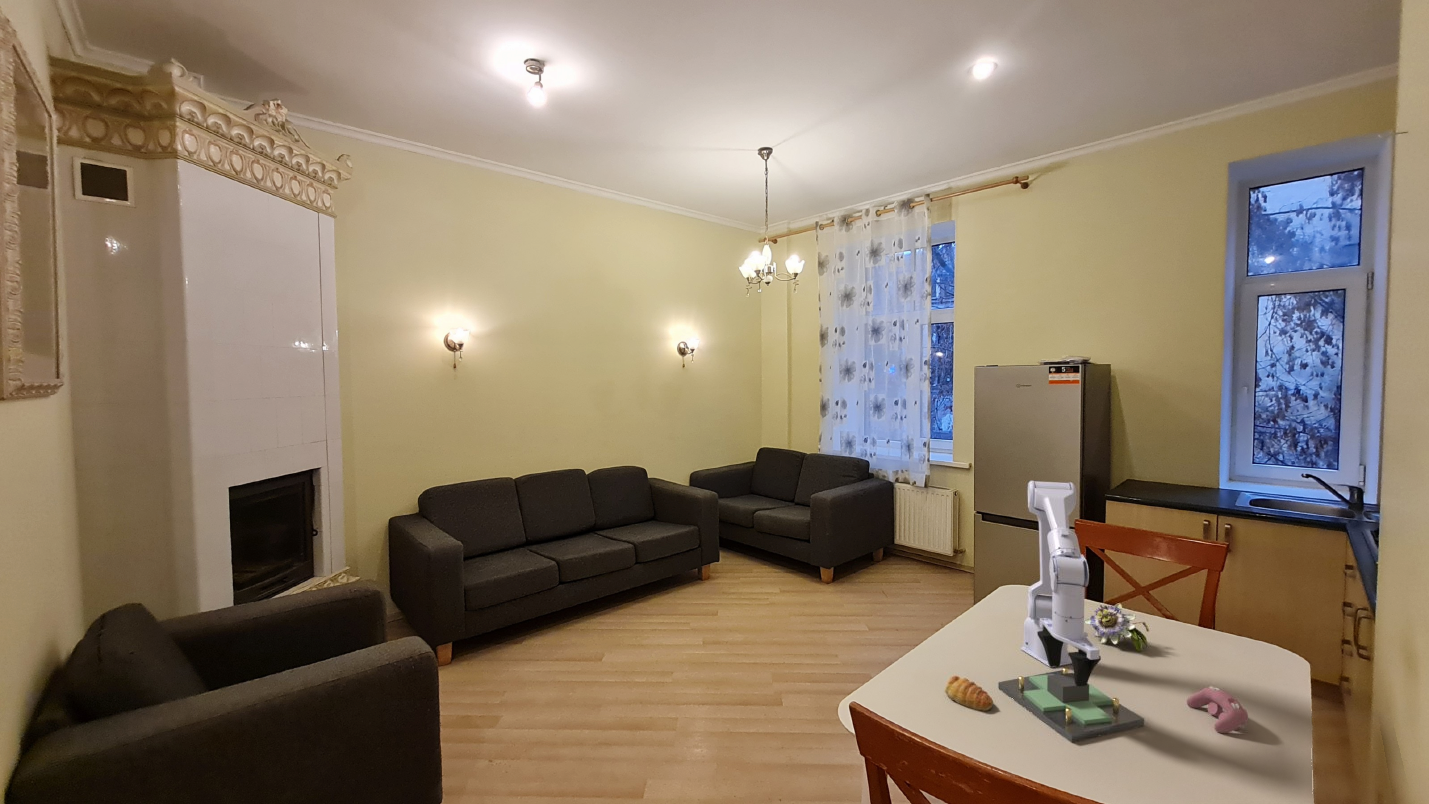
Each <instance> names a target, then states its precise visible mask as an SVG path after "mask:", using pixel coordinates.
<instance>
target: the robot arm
mask: <svg viewBox="0 0 1429 804" xmlns="http://www.w3.org/2000/svg"><path fill="white" fill-rule="evenodd" d="M1076 488H1077V487H1076V484H1074V483H1073V482H1071V481H1070V482H1057V481H1055V482H1054V481H1036V480H1035V481H1034V480H1030V481H1029V482H1028V483H1027V508H1028V512H1029V513H1031V514H1033V515H1036V518H1037V521H1038V533H1039V535H1038V538H1039V539H1038V540H1039V575H1040V576H1039V581H1037V582H1035V583H1033V584H1031V585H1030V586H1029V588H1028V589H1027V600H1026V601H1027V602H1026V603H1027V606H1026V607H1027V608H1026V609H1027V615H1028V616H1027V617H1026V618H1025V620H1024V623H1023V646H1021V647H1020V650H1021V651H1022V652H1025V653H1026V654H1027V655H1030V656H1031V657H1033V658H1034V659H1036V660H1038V661H1039V662H1041V663H1043V664H1044V665H1046V666H1047V667H1049V668H1054V667H1060V666H1066V665H1071V664H1072V667H1073V668H1072V669H1073V673H1074V681H1075V685H1077V686H1087V683H1088V684H1089V679H1090V677H1091V674H1092V672H1093V670H1094V669H1095V667H1096V666H1097V664H1098V663H1099V662H1101V659H1102V658H1101V657H1102V656H1101V655H1100V649H1099V648H1098V647H1096V646H1095V645H1094V644H1093V643H1092V642H1091V641H1090V640H1089V639H1088V637H1089V636H1088V634H1089V633H1087V632H1086V631H1085V623H1084V621H1085V588H1086V587H1088V585H1089V580H1090V573H1089V571H1090V570H1089V565H1088V561H1087V559H1086V558H1085V556H1084V554H1082V553H1081V549H1080V548H1081V547H1080V545H1079V538H1078V536H1077V534H1076V532H1074V531H1073V530H1071V529H1070V520H1069V515H1070V516H1071V514H1072V512H1073V511H1074V509H1075V507H1076V506H1077V499H1078V498H1077V495H1078V494H1077V489H1076ZM1068 645H1070V646H1072V647H1074V648H1075V649H1077V651H1071V652H1068V651H1069V649H1068V648H1069V647H1068Z"/></svg>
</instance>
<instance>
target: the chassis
mask: <svg viewBox="0 0 1429 804" xmlns="http://www.w3.org/2000/svg"><path fill="white" fill-rule="evenodd" d="M1066 673H1069V668H1066V667H1063V668H1062V669H1061V670H1060V669H1059V670H1055V671H1051V672H1049V671H1048V672H1044V673H1040V674H1034V675H1033V676H1040V675H1050V674H1054V675H1056V674H1066ZM1030 676H1031V675H1030ZM1030 676H1018V678H1013V679H1008V680H1004V681H998V682H997V683H998V685H997V686H998V688H999V690H1000V691H1001V690H1002V691H1003V692H1002V691H1001V692H1002V693H1004V694H1005V693H1006V694H1007V696H1008V697H1009V696H1010V697H1011V698H1010V697H1009V698H1010V699H1012V698H1013V699H1014V700H1013V699H1012V700H1013V701H1015V702H1016V701H1017V702H1018V703H1017V702H1016V703H1017V704H1018V705H1020V704H1021V705H1022V706H1021V705H1020V706H1021V707H1022V708H1024V707H1025V708H1026V709H1025V708H1024V709H1025V710H1026V711H1028V710H1029V711H1030V712H1029V711H1028V712H1029V713H1031V712H1032V713H1033V714H1032V713H1031V714H1032V715H1034V717H1036V716H1037V717H1036V718H1037V719H1039V720H1040V719H1041V720H1040V721H1042V722H1043V723H1045V725H1047V726H1048V727H1050V728H1051V729H1052V730H1054V731H1055V732H1057V733H1058V734H1059V735H1061V736H1062V737H1063V738H1065V740H1068V742H1070V743H1076V742H1079V741H1084V740H1088V739H1092V738H1096V737H1101V736H1106V735H1109V734H1114V733H1119V732H1123V731H1128V730H1131V729H1135V728H1140V727H1144V726H1145V718H1144V717H1142V716H1141V715H1139V714H1137V713H1136V712H1134V711H1133V710H1131V709H1130V708H1127V707H1126V706H1124V705H1122V704H1121V703H1120V699H1119V698H1117V697H1112V700H1113V704H1108V705H1099V706H1097V707H1098V708H1100V709H1101V710H1103V711H1104V712H1105V713H1107V714H1108V715H1109V716H1111V717H1112V721H1109V722H1099V723H1090V724H1084V723H1082V722H1081V721H1080V720H1079V719H1077V718H1076V717H1075V716H1074V715H1072V710H1071V709H1070V708H1066V709H1061V710H1052V711H1042V710H1041V709H1040V708H1039V707H1038V706H1036V705H1035V704H1034V703H1033V702H1032V701H1030V700H1029V699H1028V698H1027V697H1026V696H1025V695H1024V691H1030V690H1040V688H1039V687H1037V686H1036V685H1035V684H1034V683H1032V682H1031V681H1030V680H1029V677H1030ZM998 688H997V689H998ZM1006 694H1005V695H1006Z"/></svg>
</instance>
